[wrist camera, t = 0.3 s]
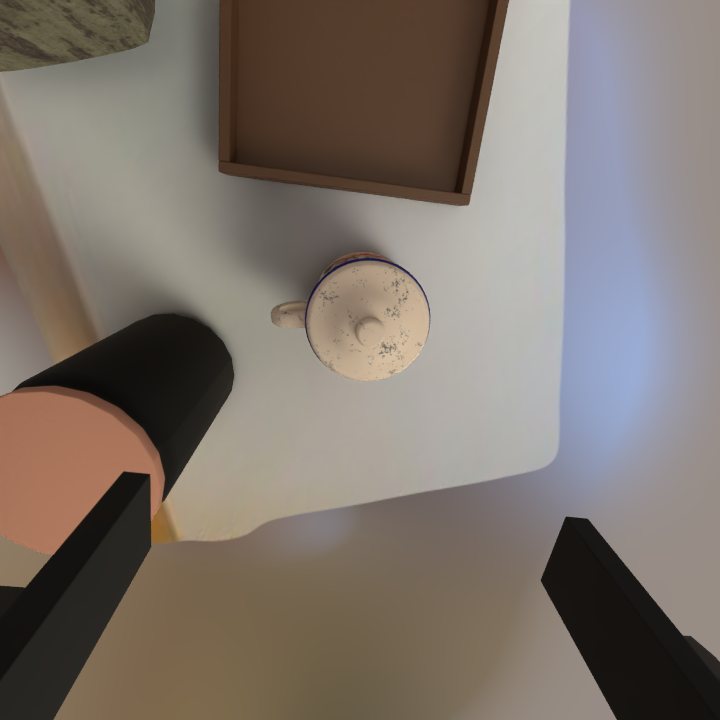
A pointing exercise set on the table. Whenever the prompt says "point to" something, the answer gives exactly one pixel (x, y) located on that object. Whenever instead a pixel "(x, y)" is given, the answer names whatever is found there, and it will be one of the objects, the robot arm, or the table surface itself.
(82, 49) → the green bell
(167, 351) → the coffee jar
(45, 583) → the robot arm
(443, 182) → the tray
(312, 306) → the teacup with lid
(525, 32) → the table surface
